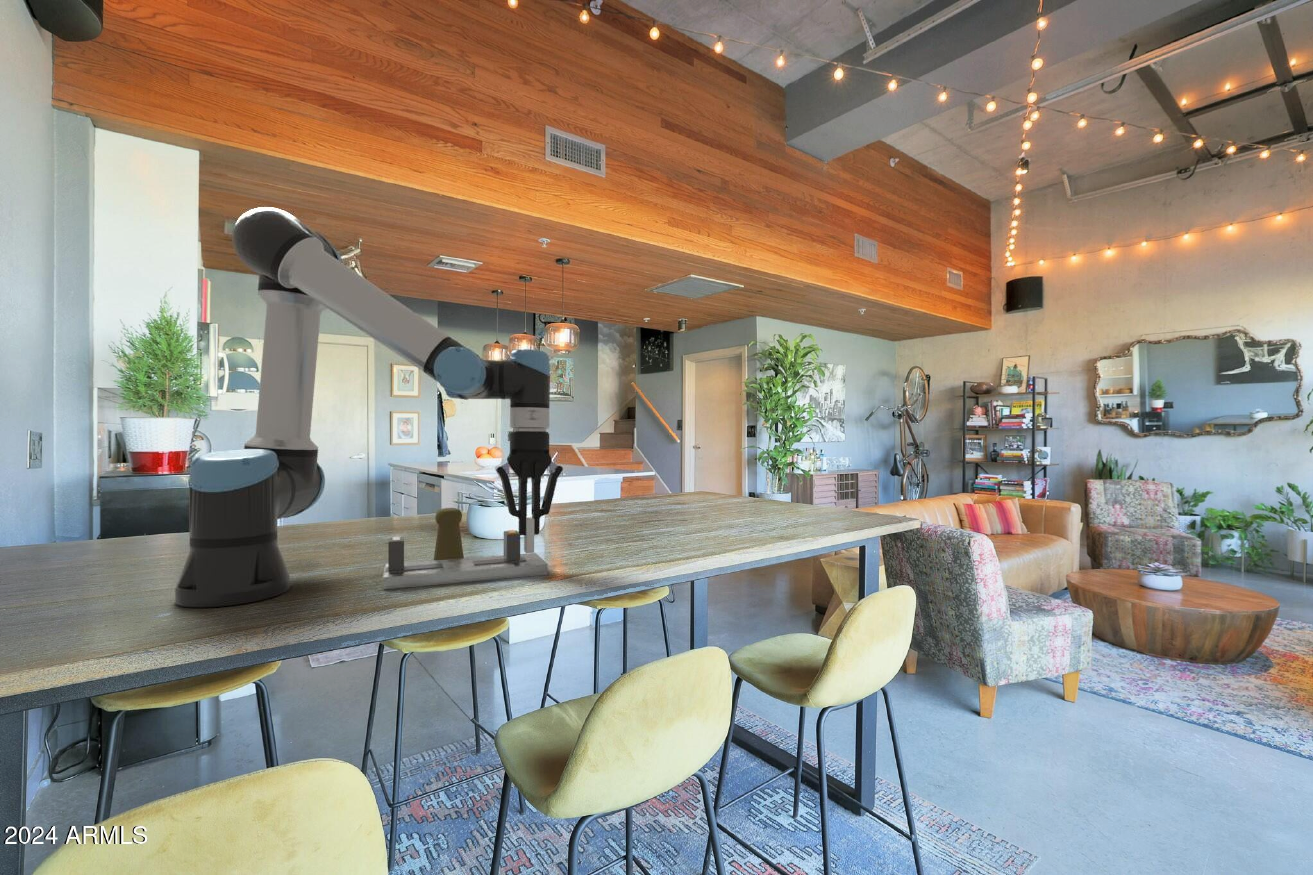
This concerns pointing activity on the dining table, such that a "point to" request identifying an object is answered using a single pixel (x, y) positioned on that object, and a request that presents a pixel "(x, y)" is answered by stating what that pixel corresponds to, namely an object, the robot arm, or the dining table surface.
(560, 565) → the dining table surface
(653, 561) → the dining table surface
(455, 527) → the cork
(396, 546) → the block
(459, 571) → the panel
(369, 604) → the dining table surface
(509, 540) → the block
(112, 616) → the dining table surface
